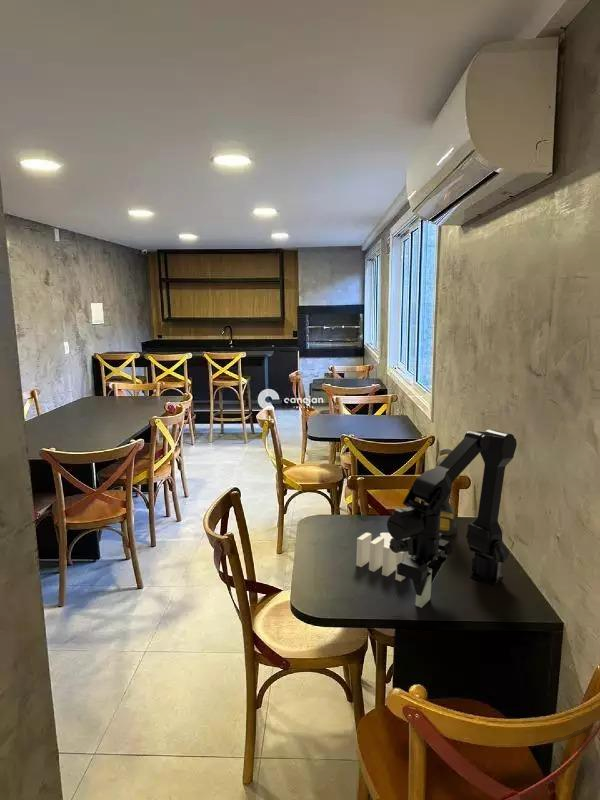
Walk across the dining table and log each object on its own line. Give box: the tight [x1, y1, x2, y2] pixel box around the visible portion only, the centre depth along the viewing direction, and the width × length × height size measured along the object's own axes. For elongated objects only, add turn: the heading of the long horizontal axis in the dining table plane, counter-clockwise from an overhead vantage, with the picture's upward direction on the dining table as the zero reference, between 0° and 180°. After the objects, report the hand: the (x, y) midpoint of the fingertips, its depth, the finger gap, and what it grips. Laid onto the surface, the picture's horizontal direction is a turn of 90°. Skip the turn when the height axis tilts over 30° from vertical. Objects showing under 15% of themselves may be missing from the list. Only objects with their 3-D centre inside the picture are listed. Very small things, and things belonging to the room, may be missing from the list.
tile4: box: [368, 535, 384, 573], centre depth 145 cm, size 2×5×8 cm, turn 142°
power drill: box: [435, 448, 457, 537], centre depth 168 cm, size 20×9×25 cm, turn 168°
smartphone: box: [379, 532, 413, 557], centre depth 160 cm, size 7×1×15 cm
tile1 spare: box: [414, 567, 432, 608], centre depth 129 cm, size 2×5×8 cm, turn 143°
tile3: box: [381, 542, 397, 577], centre depth 143 cm, size 2×5×8 cm, turn 142°
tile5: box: [355, 532, 373, 568], centre depth 148 cm, size 2×5×8 cm, turn 142°
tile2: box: [394, 552, 412, 582], centre depth 140 cm, size 2×5×8 cm, turn 142°
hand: (423, 590), depth 129 cm, fingers closed on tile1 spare, 5 cm apart
